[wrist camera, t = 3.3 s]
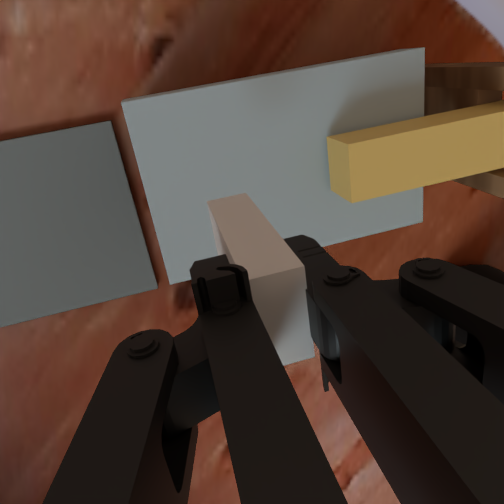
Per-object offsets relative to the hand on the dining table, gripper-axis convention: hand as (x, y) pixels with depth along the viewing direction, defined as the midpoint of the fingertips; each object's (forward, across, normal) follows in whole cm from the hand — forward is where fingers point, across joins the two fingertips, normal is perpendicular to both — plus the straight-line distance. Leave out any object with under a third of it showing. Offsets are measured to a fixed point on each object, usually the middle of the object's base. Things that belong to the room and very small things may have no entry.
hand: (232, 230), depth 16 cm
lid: (+10, +5, 0) cm, 11 cm away
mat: (+17, -13, -3) cm, 22 cm away
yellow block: (+7, +13, 0) cm, 15 cm away
